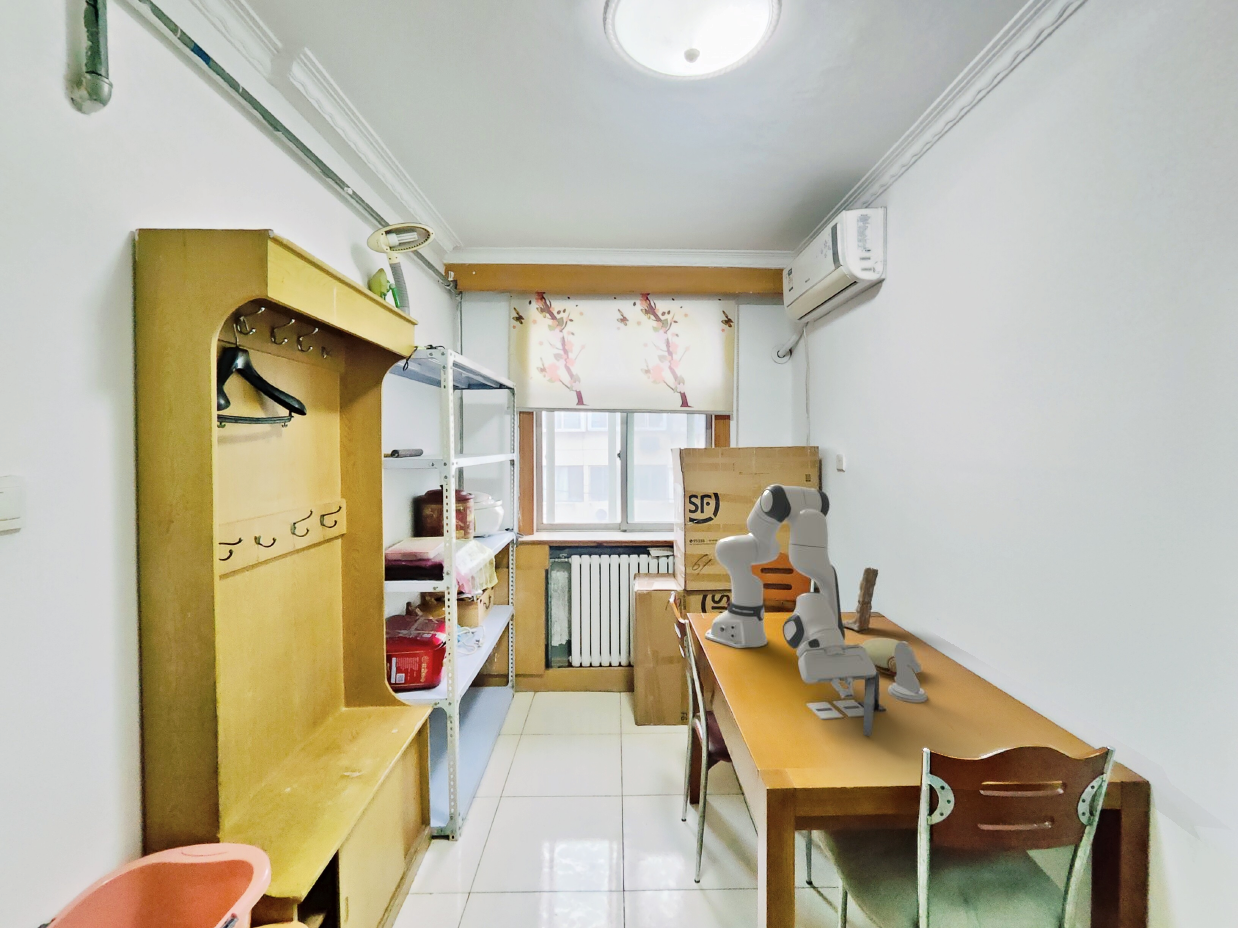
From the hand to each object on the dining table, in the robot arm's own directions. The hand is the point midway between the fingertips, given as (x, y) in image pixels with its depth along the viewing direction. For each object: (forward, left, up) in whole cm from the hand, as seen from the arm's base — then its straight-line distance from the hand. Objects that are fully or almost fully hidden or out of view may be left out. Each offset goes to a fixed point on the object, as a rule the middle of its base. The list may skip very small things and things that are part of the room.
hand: (848, 697), depth 140 cm
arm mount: (+4, +11, -6) cm, 13 cm away
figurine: (-13, +79, -6) cm, 80 cm away
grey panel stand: (+5, +3, -5) cm, 8 cm away
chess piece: (+11, +25, -6) cm, 28 cm away
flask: (+4, +40, -6) cm, 41 cm away
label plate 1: (-6, +1, -6) cm, 9 cm away
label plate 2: (-1, +7, -6) cm, 9 cm away
